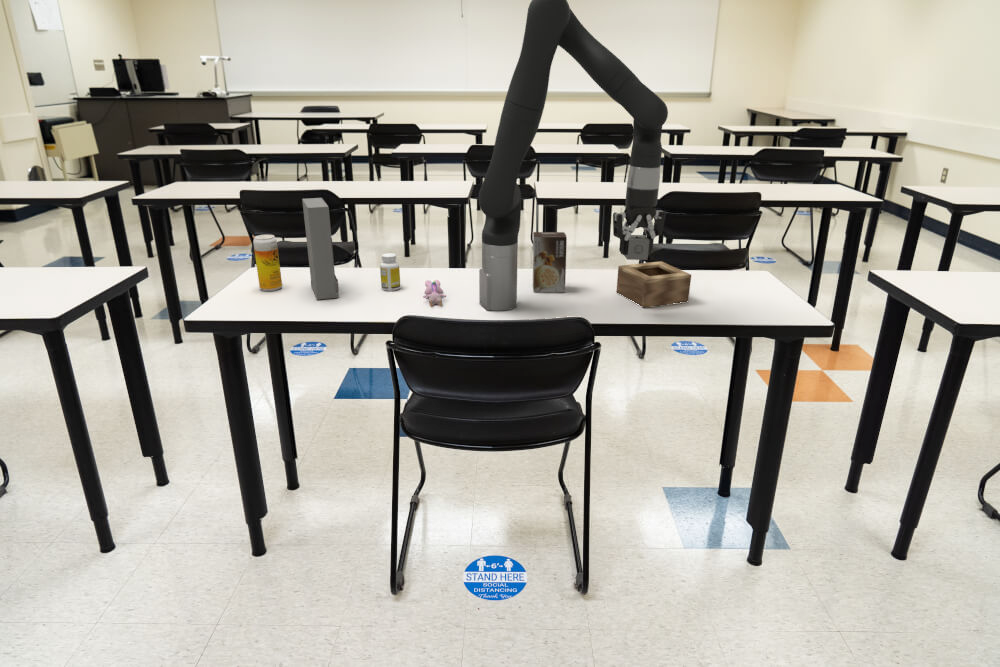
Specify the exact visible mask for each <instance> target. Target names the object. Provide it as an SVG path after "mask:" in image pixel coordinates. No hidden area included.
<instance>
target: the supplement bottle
mask: <svg viewBox="0 0 1000 667" xmlns="http://www.w3.org/2000/svg"><path fill="white" fill-rule="evenodd" d="M381 260H382V262H380V264H379V271H380V272H379V273H380V285H381V289H382V290H383V291H389V292H391V291H393V292H394V291H397V290H400V289H401V273H400V272H401V271H400V270H401V269H400V264H399V262H398V261H397V254H396V253H392V252H390V253H387V252H386V253H383V254H382V255H381Z"/></svg>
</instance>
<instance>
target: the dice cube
mask: <svg viewBox="0 0 1000 667" xmlns="http://www.w3.org/2000/svg"><path fill="white" fill-rule="evenodd" d="M628 241H629V244H628V254H627V255H623V257H625V259H626V260H627V261H629V260H631V261H648V257H649V253H648V251H649V242H650V240H649V239H648V238H647V236H646V234H631V235H630V237H629V239H628Z"/></svg>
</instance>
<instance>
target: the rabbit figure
mask: <svg viewBox="0 0 1000 667" xmlns="http://www.w3.org/2000/svg"><path fill="white" fill-rule="evenodd" d="M424 285H425V287H426V288H425V290H424V295H423V296H422V298H423V299H425V298H428V304H429V307H431V308H432V307H434V305H438V307H442V306H443V304H442V303H443V299H442V297H443V298H444V297H445V298H446V297H447V295H446V294H444V290H443V289H442V288H441V281H440V280H438V279H435V280H433V281H431V280H426V281H425V283H424Z"/></svg>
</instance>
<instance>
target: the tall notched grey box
mask: <svg viewBox="0 0 1000 667" xmlns="http://www.w3.org/2000/svg"><path fill="white" fill-rule="evenodd" d="M301 200H302V208H303V210H302V211H303V219H304V226H305V227H304V228H305V237H306V238H305V239H306V247H307V248H306V249H307V256H308V265H309V274H310V276H309V277H310V286H311V288H312V290H313V294H314V296H315V298H316V300H317V301H320V300H325V299H326V300H328V299H337V298H340V288H339V279H338V278H337V276H336V272H335V258H334V247H333V246H334V245H333V239H332V230H331V218H330V208H329V205H328V204H327V203H326V201H325V200H324V198H323V197H315V198H314V197H313V198H302V199H301Z"/></svg>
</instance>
